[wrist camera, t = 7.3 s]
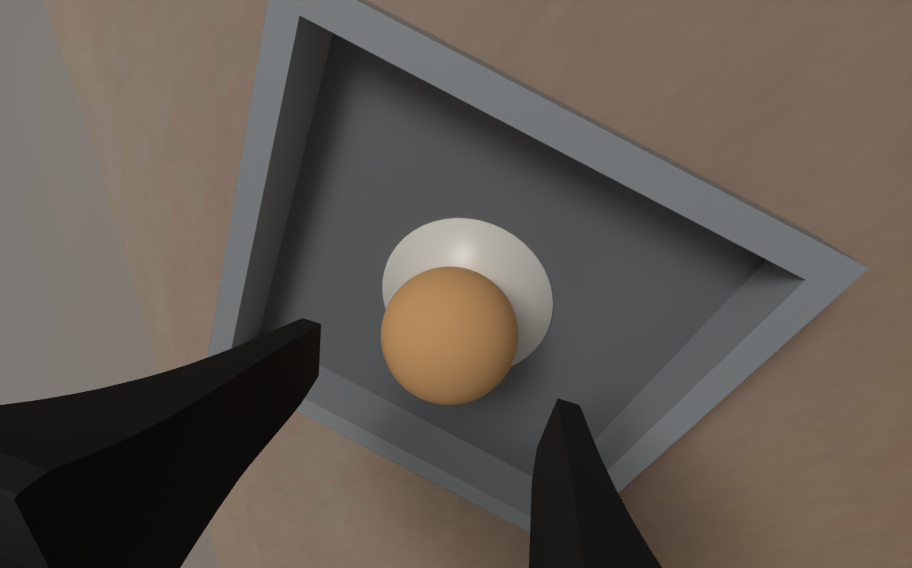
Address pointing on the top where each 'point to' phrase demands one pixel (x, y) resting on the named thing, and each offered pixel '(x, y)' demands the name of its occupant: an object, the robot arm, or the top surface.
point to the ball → (449, 335)
